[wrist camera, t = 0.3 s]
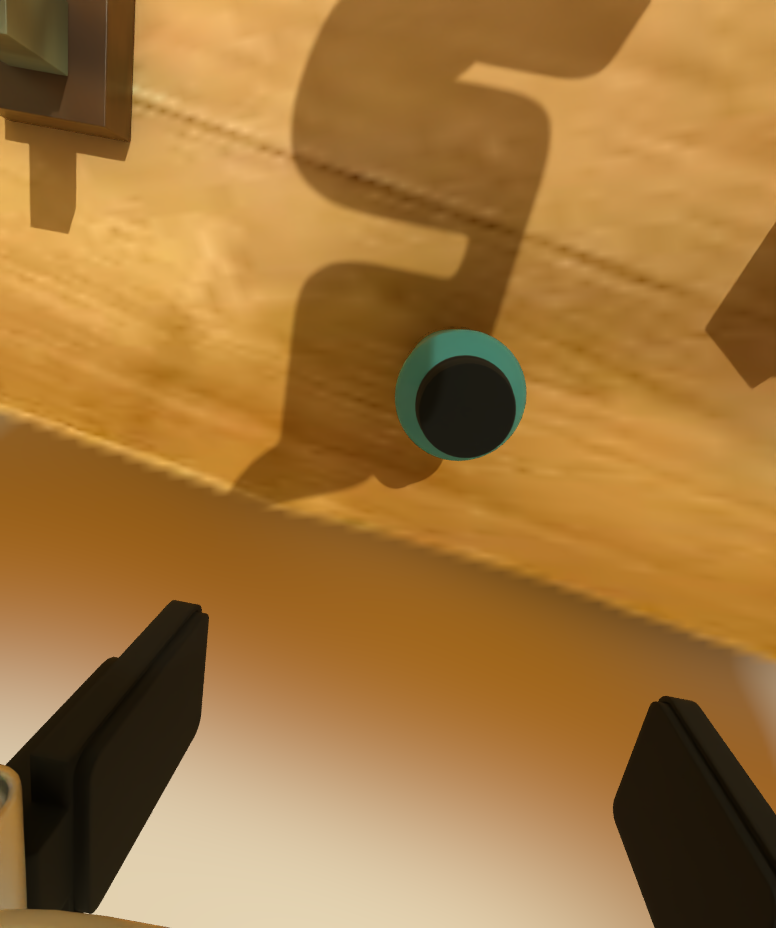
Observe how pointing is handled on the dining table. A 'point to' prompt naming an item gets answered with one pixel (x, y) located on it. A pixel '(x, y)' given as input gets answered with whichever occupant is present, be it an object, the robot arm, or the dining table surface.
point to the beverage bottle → (460, 394)
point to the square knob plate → (68, 64)
